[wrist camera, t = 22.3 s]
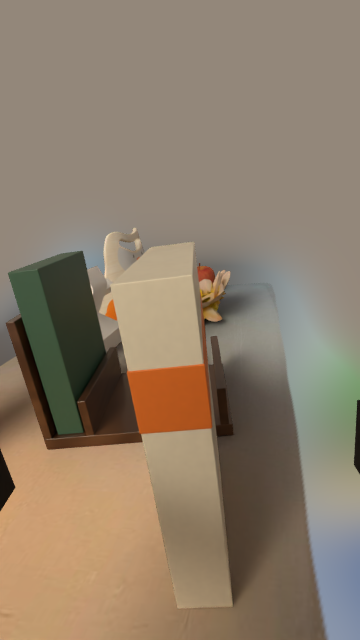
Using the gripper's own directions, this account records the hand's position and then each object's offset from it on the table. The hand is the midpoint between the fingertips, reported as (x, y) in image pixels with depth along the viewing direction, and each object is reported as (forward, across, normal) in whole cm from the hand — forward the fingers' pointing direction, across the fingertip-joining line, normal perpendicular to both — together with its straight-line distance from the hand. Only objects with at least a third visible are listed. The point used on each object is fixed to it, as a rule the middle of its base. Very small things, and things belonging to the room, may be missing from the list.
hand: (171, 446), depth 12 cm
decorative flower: (+50, 0, -12) cm, 51 cm away
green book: (+21, -13, -11) cm, 27 cm away
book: (+7, 0, -12) cm, 14 cm away
